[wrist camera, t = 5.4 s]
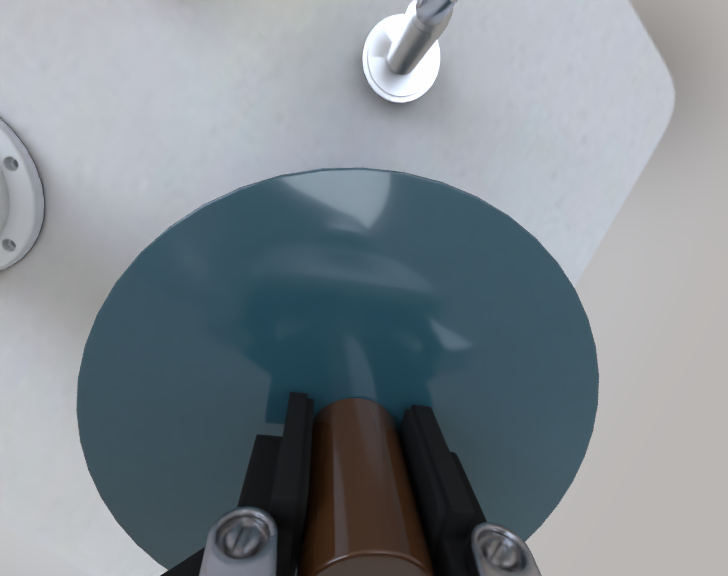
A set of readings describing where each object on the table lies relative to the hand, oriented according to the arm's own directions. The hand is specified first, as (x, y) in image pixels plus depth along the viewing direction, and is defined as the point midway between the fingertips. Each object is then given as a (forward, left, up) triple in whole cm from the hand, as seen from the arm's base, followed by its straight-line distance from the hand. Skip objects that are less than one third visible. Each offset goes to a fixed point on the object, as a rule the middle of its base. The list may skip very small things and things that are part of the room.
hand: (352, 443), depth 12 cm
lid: (0, 0, -1) cm, 1 cm away
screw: (-8, +13, -19) cm, 24 cm away
